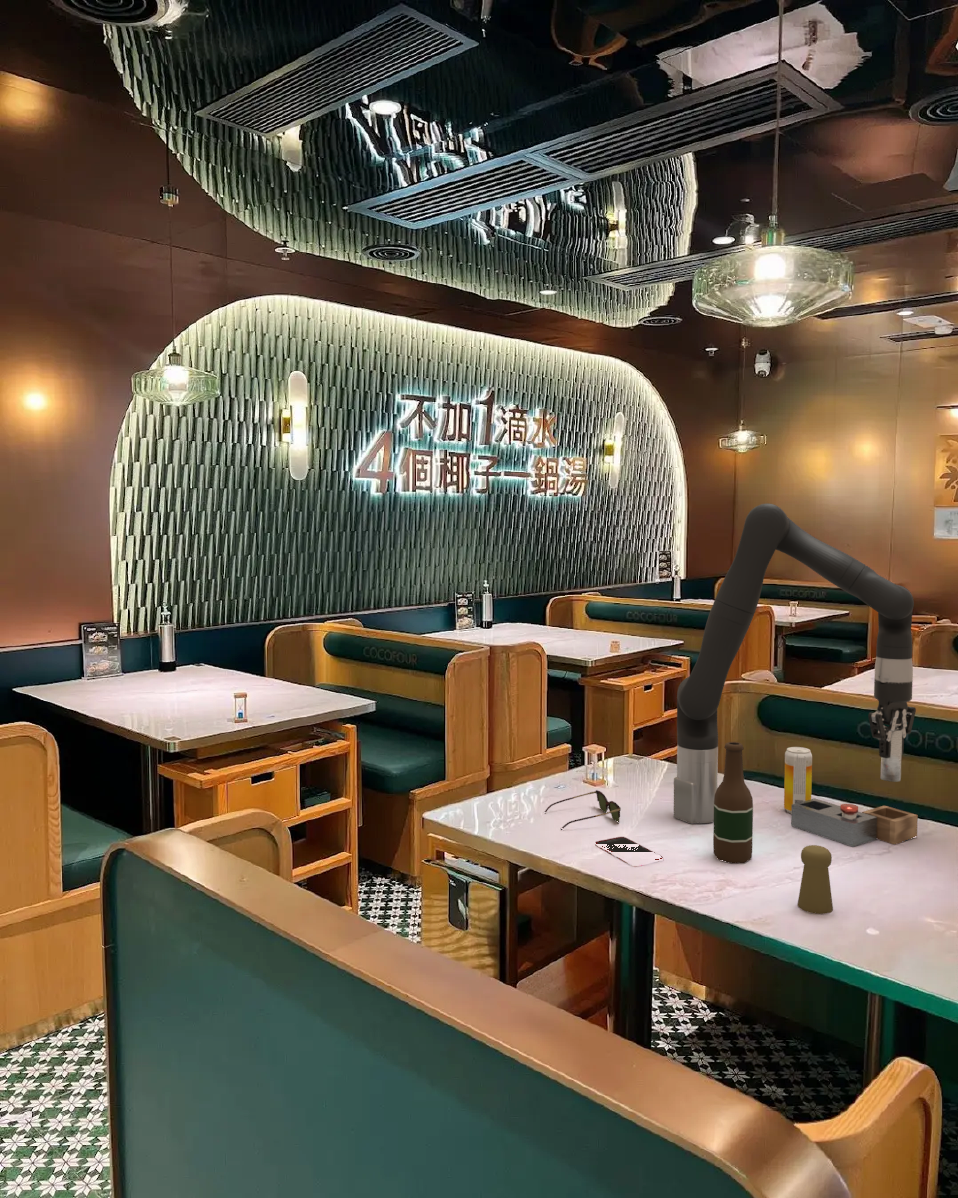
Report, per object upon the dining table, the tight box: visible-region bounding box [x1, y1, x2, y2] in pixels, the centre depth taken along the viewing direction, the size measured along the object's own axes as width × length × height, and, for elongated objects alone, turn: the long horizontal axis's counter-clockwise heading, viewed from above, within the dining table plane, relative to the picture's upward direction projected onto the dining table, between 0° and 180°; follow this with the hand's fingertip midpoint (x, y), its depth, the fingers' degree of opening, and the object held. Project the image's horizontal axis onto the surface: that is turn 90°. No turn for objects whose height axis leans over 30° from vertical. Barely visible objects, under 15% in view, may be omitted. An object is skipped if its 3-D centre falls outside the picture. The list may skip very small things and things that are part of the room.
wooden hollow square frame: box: [861, 805, 918, 845], centre depth 200 cm, size 8×8×5 cm
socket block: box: [790, 798, 877, 848], centre depth 202 cm, size 8×16×5 cm, turn 32°
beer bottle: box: [712, 741, 754, 864], centre depth 188 cm, size 8×8×24 cm
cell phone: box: [595, 836, 664, 860], centre depth 192 cm, size 8×15×1 cm, turn 27°
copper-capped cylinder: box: [839, 803, 859, 820], centre depth 199 cm, size 4×4×6 cm
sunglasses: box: [544, 789, 622, 829], centre depth 214 cm, size 14×15×5 cm
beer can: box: [783, 746, 813, 815], centre depth 217 cm, size 6×6×15 cm
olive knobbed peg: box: [797, 844, 834, 915], centre depth 164 cm, size 6×6×11 cm
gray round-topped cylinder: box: [880, 728, 902, 783], centre depth 199 cm, size 4×4×11 cm
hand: (891, 755), depth 199 cm, fingers closed on gray round-topped cylinder, 4 cm apart
